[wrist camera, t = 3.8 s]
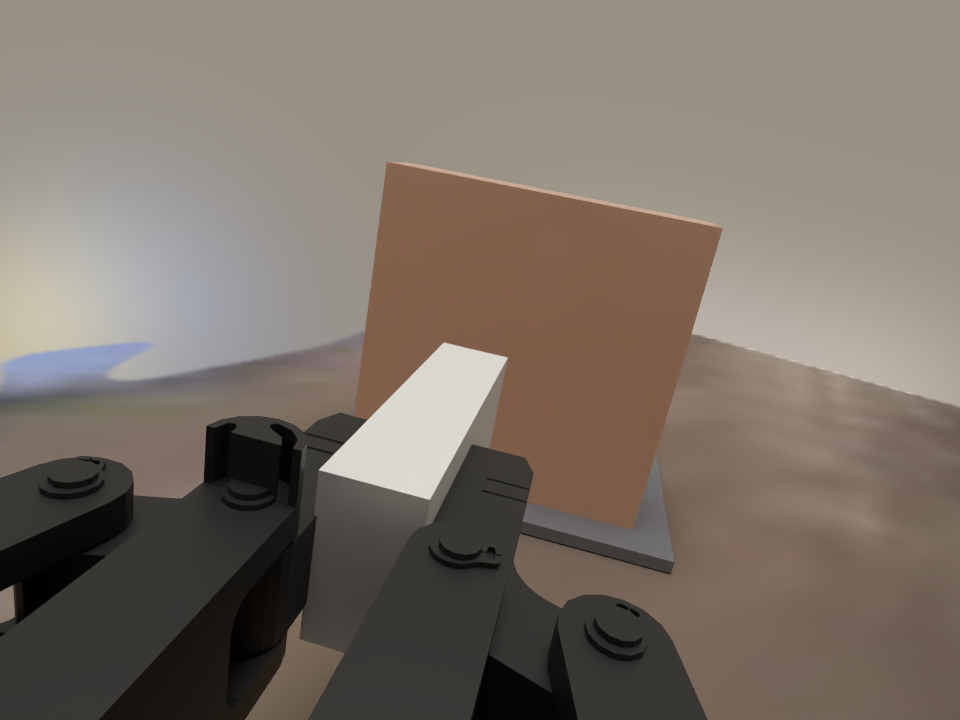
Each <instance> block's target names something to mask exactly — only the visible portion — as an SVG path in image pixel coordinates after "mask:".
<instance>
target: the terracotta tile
mask: <svg viewBox="0 0 960 720" xmlns="http://www.w3.org/2000/svg"><path fill="white" fill-rule="evenodd" d="M722 229H723V228H721V227H719V226H717V225H715V224H713V223H711V222H707V221H702V220H697V219H692V218H687V217H682V216H677V215H671V214H667V213H661V212H657V211H651V210H646V209H641V208H636V207H631V206H626V205H621V204H616V203H611V202H605V201H601V200H595V199H591V198H585V197H580V196H575V195H570V194H565V193H560V192H555V191H550V190H545V189H540V188H535V187H530V186H525V185H520V184H514V183H509V182H504V181H499V180H494V179H489V178H483V177H479V176H474V175H469V174H463V173H458V172H453V171H448V170H443V169H438V168H433V167H428V166H423V165H417V164H413V163H400V162H387V166H386V175H385V181H384V189H383V197H382V204H381V212H380V220H379V228H378V236H377V243H376V251H375V259H374V267H373V274H372V282H371V290H370V298H369V305H368V313H367V321H366V329H365V336H364V344H363V351H362V359H361V367H360V375H359V382H358V390H357V398H356V406H355V413H354V416H355V417H359V418H363V419H367V420H368V419H369V418H370V417H371V416H372V415H373V414H374V413H375V412H376V411H377V410H378V409H379V408H380V407H381V406H382V405H383V404H384V403H385V402H386V401H387V400H388V399H389V398H390V397H391V396H392V395H393V394H394V393H395V392H396V391H397V390H398V389H399V388H400V387H401V386H402V385H403V384H404V383H405V382H406V381H407V380H408V379H409V378H410V377H411V375H412V374H413V373H414V372H415V371H416V370H417V369H418V368H419V367H420V366H421V365H422V364H423V363H424V362H425V361H426V360H427V359H428V358H429V357H430V356H431V355H432V354H433V353H434V352H435V351H436V350H437V349H438V348H439V347H440V346H441V345H442V344H443V343H448V344H452V345H456V346H461V347H465V348H469V349H473V350H478V351H482V352H486V353H491V354H495V355H499V356H503V357H508V360H507V365H506V370H505V375H504V379H503V384H502V389H501V394H500V399H499V404H498V408H497V413H496V418H495V423H494V428H493V433H492V438H491V442H490V447H489V449H493V450H497V451H501V452H505V453H509V454H513V455H516V456H520V457H524V458H526V460H527V462H528V463H529V465H530V467H531V469H532V471H533V473H534V475H533V479H532V483H531V488H530V492H529V496H528V500H527V502H528V503H532V504H536V505H540V506H543V507H547V508H551V509H555V510H558V511H562V512H566V513H570V514H574V515H577V516H581V517H585V518H589V519H592V520H596V521H600V522H604V523H608V524H611V525H615V526H619V527H623V528H626V529H630V530H633V527H634V524H635V521H636V517H637V514H638V511H639V507H640V504H641V500H642V497H643V494H644V490H645V487H646V484H647V480H648V477H649V474H650V470H651V467H652V464H653V460H654V457H655V454H656V450H657V447H658V443H659V440H660V437H661V433H662V430H663V427H664V423H665V420H666V417H667V413H668V410H669V407H670V403H671V400H672V397H673V393H674V390H675V386H676V383H677V380H678V376H679V373H680V370H681V366H682V363H683V360H684V356H685V353H686V350H687V346H688V343H689V340H690V336H691V333H692V329H693V326H694V323H695V319H696V316H697V312H698V309H699V306H700V302H701V299H702V296H703V293H704V289H705V286H706V283H707V279H708V276H709V272H710V269H711V266H712V262H713V259H714V256H715V252H716V249H717V245H718V242H719V239H720V236H721V232H722Z"/></svg>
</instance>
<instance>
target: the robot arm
mask: <svg viewBox="0 0 960 720" xmlns="http://www.w3.org/2000/svg"><path fill="white" fill-rule="evenodd" d="M507 360H508V357H503V356H499V355H495V354H491V353H486V352H482V351H478V350H473V349H469V348H465V347H461V346H456V345H452V344H448V343H443V344H442V345H441V346H440V347H439V348H438V349H437V350H436V351H435V352H434V353H433V354H432V355H431V356H430V357H429V358H428V359H427V360H426V361H425V362H424V363H423V364H422V365H421V366H420V367H419V368H418V369H417V370H416V371H415V372H414V373H413V374H412V375H411V377H410V378H409V379H408V380H407V381H406V382H405V383H404V384H403V385H402V386H401V387H400V388H399V389H398V390H397V391H396V392H395V393H394V394H393V395H392V396H391V397H390V398H389V399H388V400H387V401H386V402H385V403H384V404H383V405H382V406H381V407H380V408H379V409H378V410H377V411H376V412H375V413H374V414H373V415H372V416H371V417H370V418H369V419H368V420H367V419H363V418H359V417H355V416H351V415H347V414H343V413H338V414H335V415H332V416H329V417H326V418H323V419H321V420H318V421H317V422H315V423H314V424H313V425H312V426H311V427H310V428H308V429H307V430H306V431H305V432H303V431H301V430H300V429H299V428H298V427H296V426H295V425H293V424H290V423H288V422H285V421H282V420H280V419H274V418H268V417H262V416H239V417H233V418H227V419H221V420H219V421H217V422H214V423H212V424H210V425H207V427H206V447H205V467H204V482H203V483H202V484H200V485H199V486H198V487H196V488H195V489H194V490H192V491H191V492H190V493H189V494H187V495H186V496H185V497H183V498H182V499H176V498H161V497H147V496H133V491H134V481H133V475H132V471H131V470H129V469H128V468H127V467H126V466H124V465H123V464H122V463H118V462H115V461H112V460H109V459H105V458H99V457H94V458H92V456H79V457H76V458H66V459H59V460H55V461H51V462H47V463H43V464H39V465H36V466H33V467H31V468H28V469H25V470H22V471H19V472H16V473H13V474H11V475H8V476H5V477H2V478H0V591H2V590H4V589H6V588H8V587H10V586H12V585H13V589H14V606H15V617H14V618H12V619H10V620H9V621H6V622H3V623H0V720H245V718H246V717H247V715H248V714H249V712H250V711H251V709H252V708H253V706H254V705H255V703H256V702H257V700H258V699H259V697H260V696H261V694H262V693H263V691H264V690H265V688H266V687H267V685H268V684H269V682H270V681H271V679H272V678H273V676H274V675H275V673H276V672H277V670H278V669H279V667H280V665H281V662H282V660H283V657H284V654H285V649H286V639H287V630H288V629H289V628H290V626H291V625H292V623H293V622H294V620H295V619H296V618H297V616H298V615H299V613H300V612H301V611H302V609H303V613H302V622H301V630H300V639H301V640H305V641H308V642H311V643H314V644H318V645H321V646H324V647H328V648H331V649H334V650H337V651H341V652H344V653H345V654H344V656H343V658H342V659H341V661H340V663H339V665H338V667H337V668H336V670H335V672H334V674H333V676H332V677H331V679H330V681H329V683H328V685H327V686H326V688H325V690H324V692H323V694H322V696H321V697H320V699H319V701H318V703H317V705H316V706H315V708H314V710H313V712H312V714H311V715H310V717H309V719H308V720H707V718H706V715H705V713H704V711H703V708H702V706H701V704H700V702H699V699H698V697H697V695H696V693H695V690H694V688H693V686H692V684H691V681H690V679H689V677H688V675H687V672H686V670H685V668H684V666H683V663H682V661H681V659H680V657H679V654H678V652H677V650H676V648H675V645H674V643H673V641H672V640H671V638H670V637H669V635H668V634H667V632H666V631H665V629H664V628H663V626H662V625H661V624H660V623H659V622H657V621H656V620H655V619H654V618H653V617H651V616H650V615H649V614H648V613H647V612H645V611H644V610H642V609H640V608H638V607H636V606H634V605H632V604H631V603H629V602H627V601H625V600H621V599H618V598H614V597H610V596H606V595H582V596H579V597H577V598H574V599H572V600H569V601H567V603H566V604H565V605H564V606H563V608H560V607H558V606H556V605H554V604H552V603H550V602H549V601H547V600H545V599H544V598H542V597H541V596H539V595H538V594H536V593H535V592H534V591H532V590H531V589H530V588H529V587H528V586H527V585H526V584H525V583H524V582H523V580H522V579H521V578H520V576H519V575H518V573H517V571H516V568H515V565H514V555H515V551H516V547H517V543H518V539H519V534H520V530H521V526H522V522H523V517H524V513H525V509H526V505H527V500H528V496H529V492H530V488H531V483H532V479H533V475H534V473H533V471H532V469H531V467H530V465H529V463H528V462H527V460H526V458H524V457H520V456H516V455H513V454H509V453H505V452H501V451H497V450H493V449H489V447H490V442H491V438H492V433H493V428H494V423H495V418H496V413H497V408H498V404H499V399H500V394H501V389H502V384H503V379H504V375H505V370H506V365H507Z"/></svg>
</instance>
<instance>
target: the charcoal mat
mask: <svg viewBox="0 0 960 720" xmlns="http://www.w3.org/2000/svg"><path fill="white" fill-rule="evenodd" d="M354 413H355V411H354V412H353V413H352V414H351V416H354ZM520 533H524V534H528V535H531V536H535V537H539V538H542V539H546V540H550V541H553V542H557V543H561V544H564V545H568V546H572V547H575V548H579V549H583V550H586V551H590V552H594V553H598V554H601V555H605V556H609V557H612V558H616V559H620V560H623V561H627V562H631V563H634V564H638V565H642V566H645V567H649V568H653V569H656V570H660V571H664V572H668V573H671V571H672V568H673V565H674V557H673V551H672V545H671V539H670V533H669V527H668V521H667V515H666V509H665V503H664V497H663V491H662V485H661V479H660V473H659V467H658V461H657V455H656V454H655V457H654V460H653V464H652V467H651V470H650V474H649V477H648V480H647V484H646V487H645V490H644V494H643V497H642V500H641V504H640V507H639V511H638V514H637V517H636V521H635V524H634V527H633V530H630V529H626V528H623V527H619V526H615V525H611V524H608V523H604V522H600V521H596V520H592V519H589V518H585V517H581V516H577V515H574V514H570V513H566V512H562V511H558V510H555V509H551V508H547V507H543V506H540V505H536V504H532V503H528V502H527V505H526V509H525V513H524V517H523V522H522V526H521V530H520Z"/></svg>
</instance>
